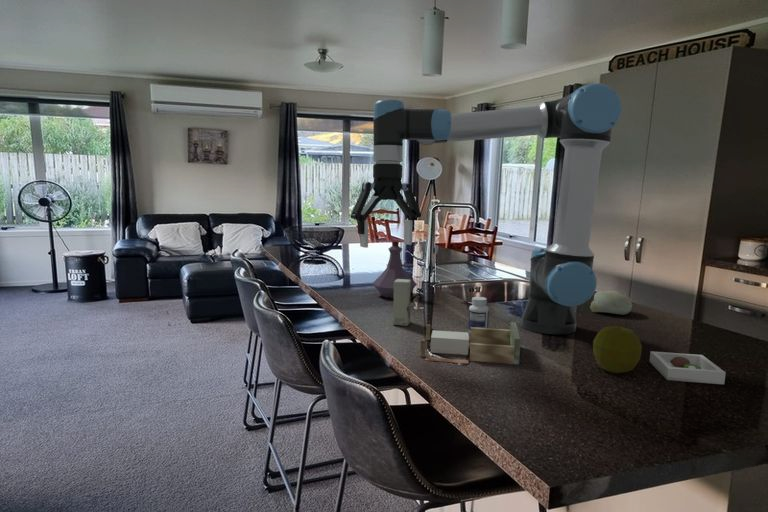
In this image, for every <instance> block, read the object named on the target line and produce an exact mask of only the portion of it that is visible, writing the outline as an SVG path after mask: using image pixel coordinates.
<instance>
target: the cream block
mask: <svg viewBox="0 0 768 512" xmlns="http://www.w3.org/2000/svg"><path fill="white" fill-rule="evenodd" d="M469 335H470V333H469V332H466V331H465V332H464V331H450V330H449V331H448V330H447V331H446V330H432V332H431V334H430V353H434V354H435V353H437V354H453V355H464V356H468V355H469V344H470V337H469Z"/></svg>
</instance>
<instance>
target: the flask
mask: <svg viewBox="0 0 768 512" xmlns="http://www.w3.org/2000/svg"><path fill="white" fill-rule="evenodd" d="M391 244H392V245H391V246H390V247H388V251H389V259H388V262H387V264H386V265H387V266H386V268H385V269H384V271H383V272H382V273H381V274H380V275H379V276H378V277H377V278H376V279H375V280H374V281H373V282H372V283H371V285H373V286H374V287H375V289H376V290H377V291H378V292H379V294H380V295H381V296H383V297H384V298H387V297H390V298H389V299H394V281H395V280H397V279H408V280H411V288H410V293H411V292H413V290H414V288H415V287H417V285H418V284H417V283H416V281H415V280H414V279H413V278H412V277H411V276H410V275H409V273H408V272H407V271H406V269H404V267H403V265H404V264H403V262H402V258H401V257H402V256H401V252H402V251H403V248H402V247H400V241H399V240H392V241H391Z"/></svg>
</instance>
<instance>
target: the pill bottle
mask: <svg viewBox="0 0 768 512" xmlns="http://www.w3.org/2000/svg"><path fill="white" fill-rule="evenodd" d="M487 300H488V299H487V298H486V297H484V296H473V297H472V298H471V304H472V305H469V308H468V334H471V327H476V328H489V319H490V318H489V317H490V316H489V315H490V308H489V307H488V306H487V303H488V301H487Z"/></svg>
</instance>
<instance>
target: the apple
mask: <svg viewBox="0 0 768 512" xmlns="http://www.w3.org/2000/svg"><path fill="white" fill-rule="evenodd" d="M642 351H643V345H642V343H641V341H640V338H639V336H638V335H636V333H635V332H634V331H633V330H631V329H630V328H627V327H623V326H620V322H618V323H617V325H616V326H615V325H611V326H604V327H602V329H600V330H599V331H598V332H597V333H596V336H595V337H594V338H593V341H592V354H593V355H594V358H595V360H596V363H597V365H598V366H599V367H600V368H602V369H603V370H605V371H606V372H608V373H612V374H624V373H627V372H630V371H633V370H634V369H635V367H636V366H637V365H638V363H639V361H640V360H641V357H642V356H641V355H642Z"/></svg>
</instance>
